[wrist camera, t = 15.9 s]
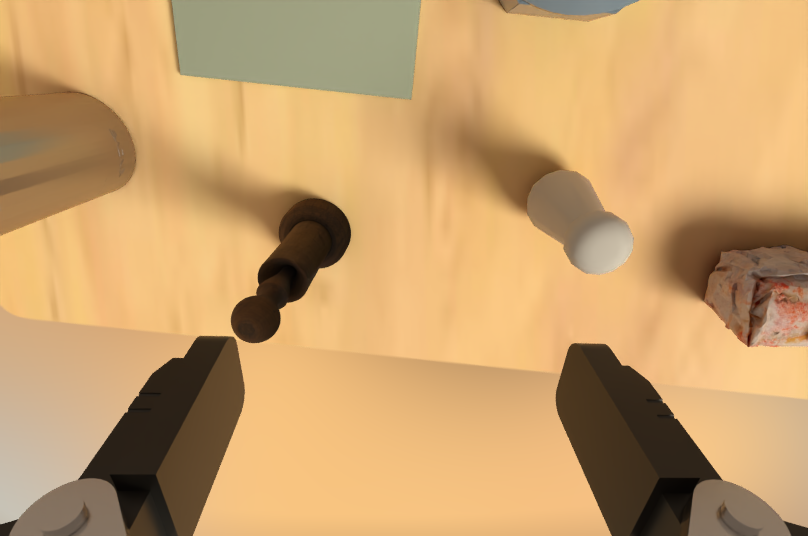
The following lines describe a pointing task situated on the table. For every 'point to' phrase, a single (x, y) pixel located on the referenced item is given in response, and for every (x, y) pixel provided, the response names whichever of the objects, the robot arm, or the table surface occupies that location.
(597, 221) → the salt shaker
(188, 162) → the table surface
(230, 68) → the rubber mat
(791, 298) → the food item
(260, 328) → the dark brown tall piece
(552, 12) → the food cover
